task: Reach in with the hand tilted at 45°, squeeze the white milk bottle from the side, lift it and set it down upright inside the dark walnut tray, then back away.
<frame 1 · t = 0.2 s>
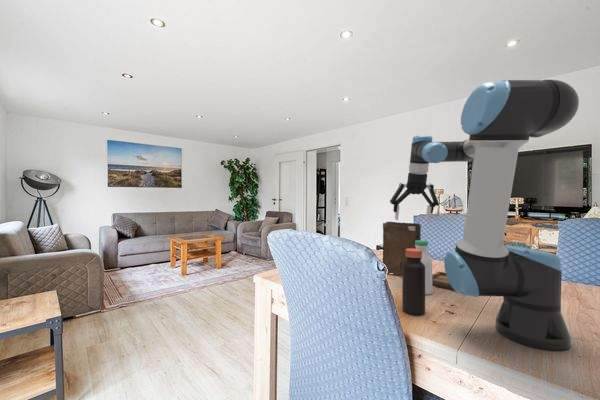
hand: (411, 219, 119), 27 cm above the table, tool tilted 15°, fingers open, 13 cm apart
vinegar: (413, 311, 87), on the table
milk bottle: (421, 292, 105), on the table
book: (401, 275, 127), on the table
walnut tray: (451, 284, 113), on the table
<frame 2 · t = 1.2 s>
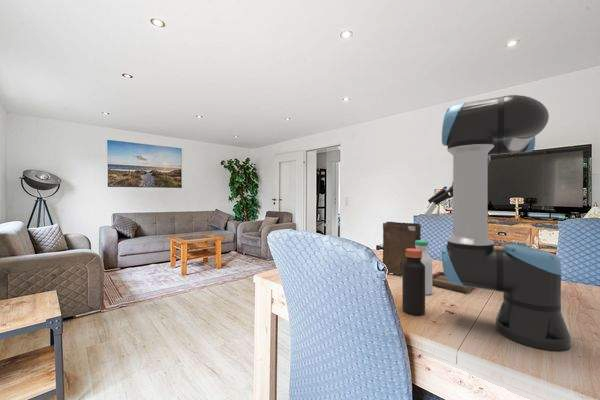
hand: (440, 216, 108), 29 cm above the table, tool tilted 45°, fingers open, 13 cm apart
nothing on the table moved.
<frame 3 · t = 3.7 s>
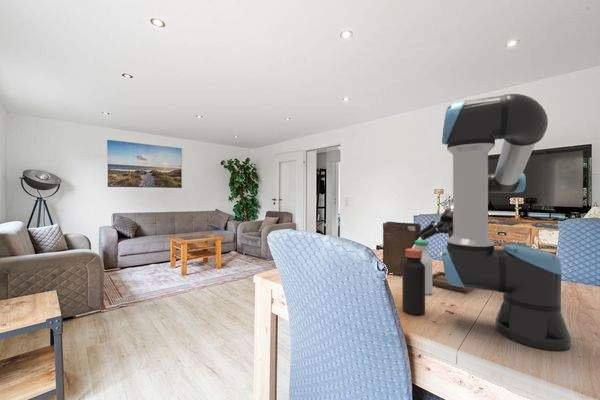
hand: (426, 254, 107), 14 cm above the table, tool tilted 45°, fingers open, 13 cm apart
nothing on the table moved.
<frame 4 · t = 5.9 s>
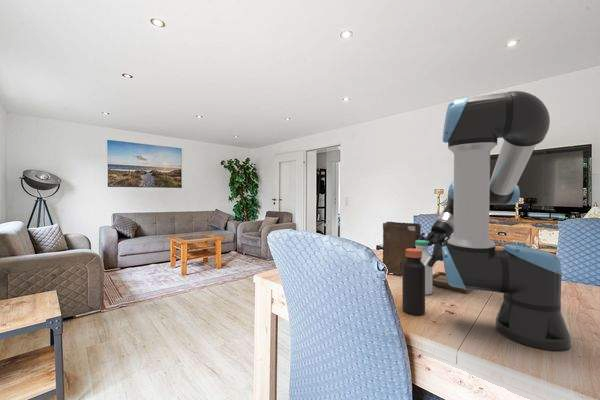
hand: (414, 269, 103), 9 cm above the table, tool tilted 45°, fingers closed on milk bottle, 7 cm apart
milk bottle: (421, 292, 105), on the table, touching gripper
everything else where it was.
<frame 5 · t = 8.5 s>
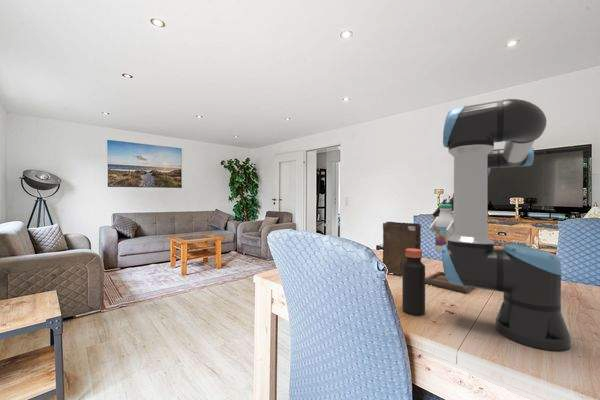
hand: (439, 230, 110), 23 cm above the table, tool tilted 45°, fingers closed on milk bottle, 7 cm apart
milk bottle: (445, 252, 112), point 14 cm above the table, touching gripper
everything else where it was.
when the fingers open (12 cm above the table, at t = 11.2 s): milk bottle drops 2 cm, resting on walnut tray.
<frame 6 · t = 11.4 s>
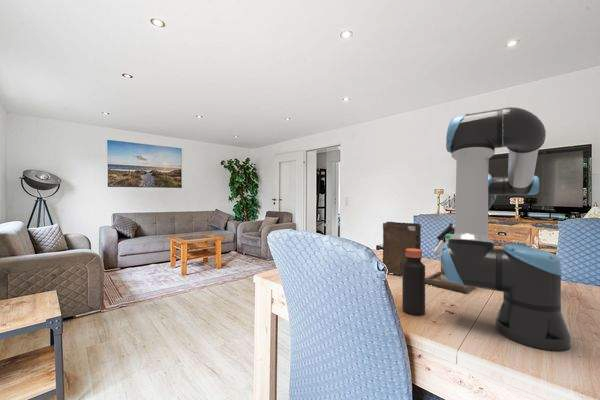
hand: (446, 255, 112), 12 cm above the table, tool tilted 45°, fingers open, 10 cm apart
milk bottle: (451, 281, 113), point 1 cm above the table, touching walnut tray
everything else where it was.
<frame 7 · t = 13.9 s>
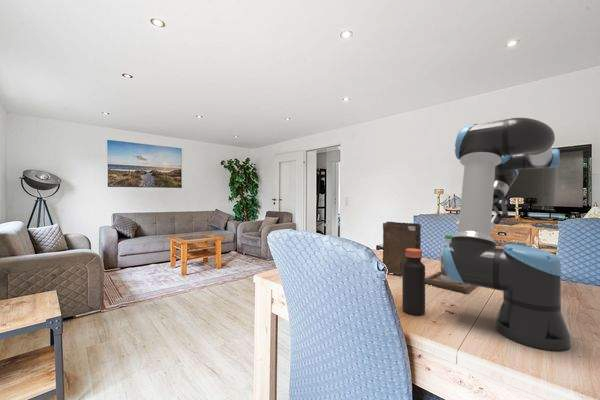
hand: (473, 227, 115), 24 cm above the table, tool tilted 45°, fingers open, 13 cm apart
nothing on the table moved.
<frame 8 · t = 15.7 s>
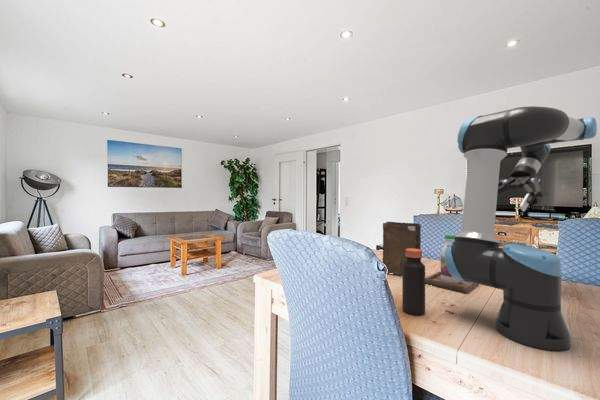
hand: (502, 208, 105), 33 cm above the table, tool tilted 45°, fingers open, 13 cm apart
nothing on the table moved.
at the end: milk bottle inside the target area on the walnut tray (0.4 cm from its centre), point 1.0 cm above the walnut tray's base; milk bottle tilted 0°; the gripper is holding nothing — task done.
